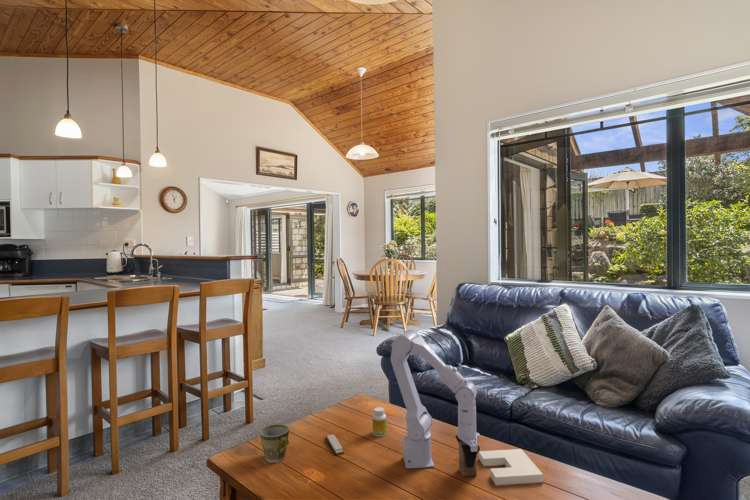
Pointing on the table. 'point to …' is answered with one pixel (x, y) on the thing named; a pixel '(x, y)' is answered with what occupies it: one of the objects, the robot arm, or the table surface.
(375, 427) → the supplement bottle
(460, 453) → the peg
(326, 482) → the table surface
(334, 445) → the harmonica
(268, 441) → the ceramic cup
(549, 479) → the table surface
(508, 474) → the socket block
